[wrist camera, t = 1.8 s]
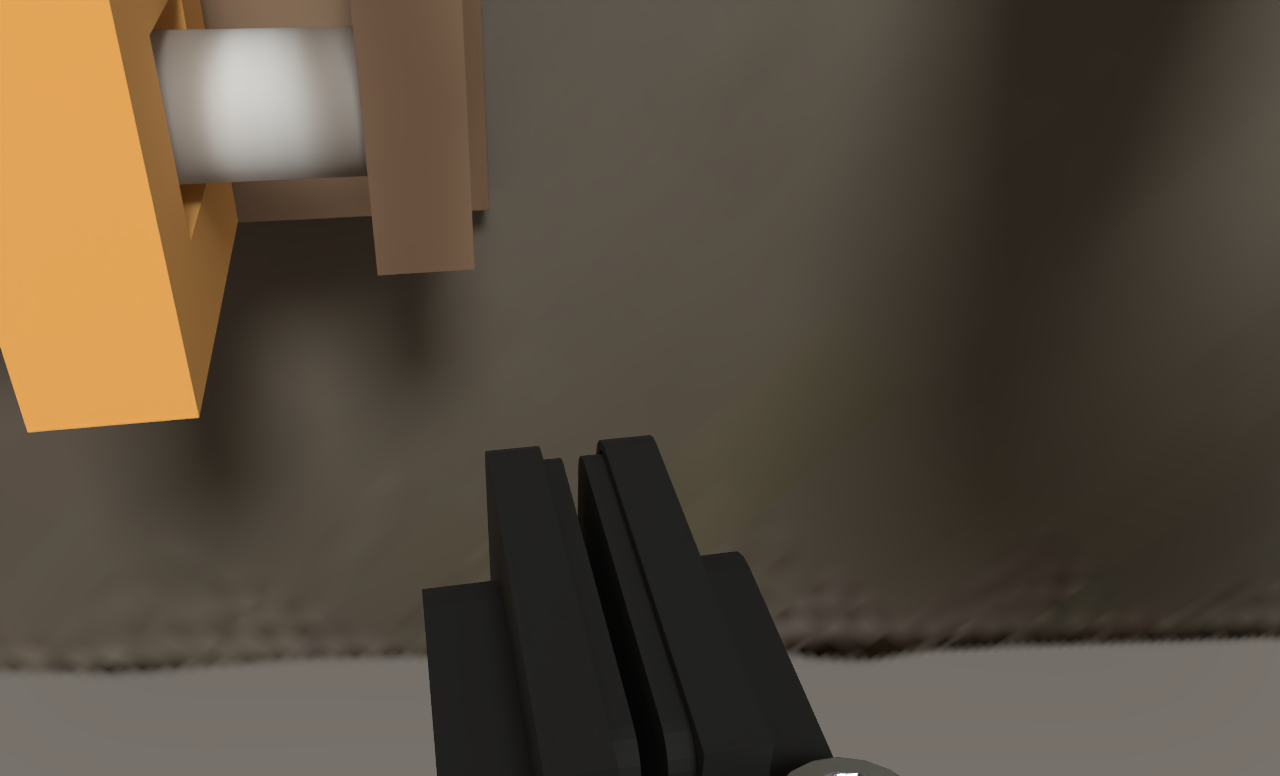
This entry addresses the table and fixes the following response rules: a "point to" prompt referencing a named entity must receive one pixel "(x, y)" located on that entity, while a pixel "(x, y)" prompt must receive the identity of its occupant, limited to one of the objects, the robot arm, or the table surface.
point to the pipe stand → (337, 117)
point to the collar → (102, 220)
